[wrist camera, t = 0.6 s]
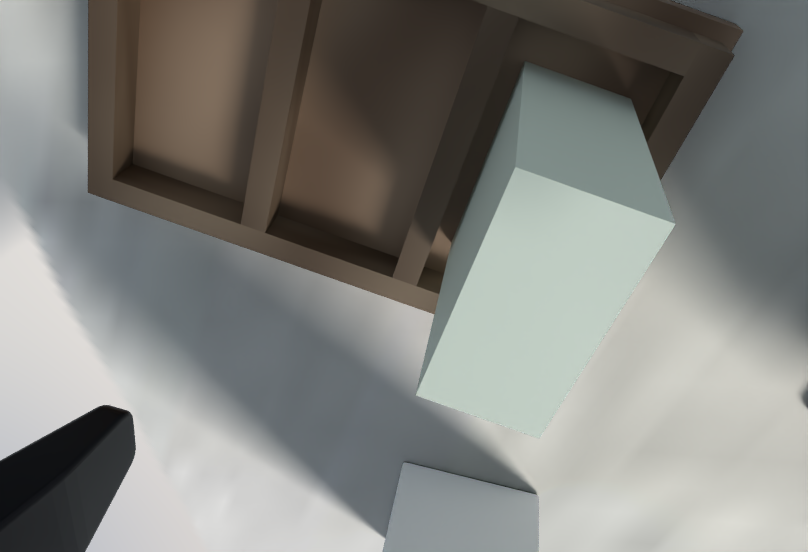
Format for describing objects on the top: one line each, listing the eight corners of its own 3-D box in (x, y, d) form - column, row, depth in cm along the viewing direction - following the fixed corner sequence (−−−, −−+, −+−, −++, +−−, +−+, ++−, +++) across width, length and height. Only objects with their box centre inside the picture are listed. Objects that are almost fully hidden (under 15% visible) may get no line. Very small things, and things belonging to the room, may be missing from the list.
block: (630, 98, 17) (675, 223, 11) (540, 274, 21) (539, 438, 15) (524, 60, 17) (515, 166, 11) (451, 242, 20) (415, 395, 15)
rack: (735, 23, 16) (783, 66, 13) (558, 331, 23) (560, 412, 19) (123, -197, 16) (16, -210, 13) (113, 174, 22) (38, 230, 19)
